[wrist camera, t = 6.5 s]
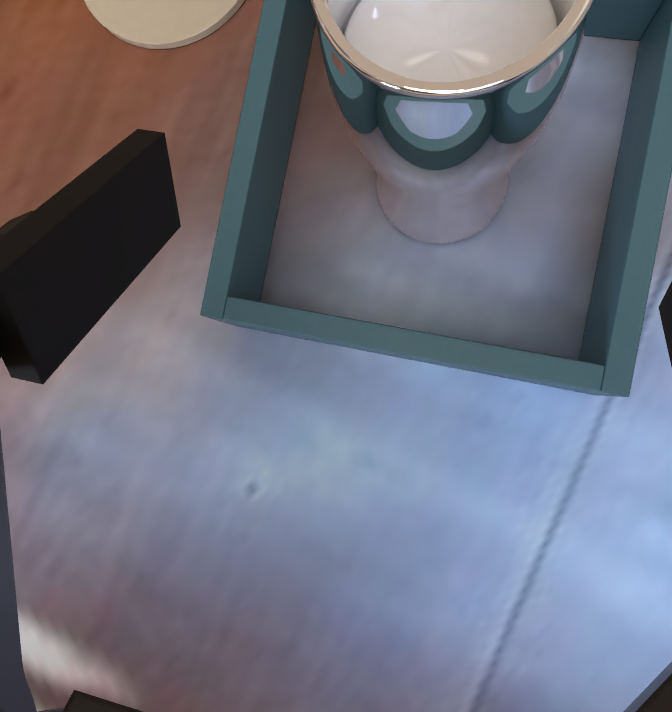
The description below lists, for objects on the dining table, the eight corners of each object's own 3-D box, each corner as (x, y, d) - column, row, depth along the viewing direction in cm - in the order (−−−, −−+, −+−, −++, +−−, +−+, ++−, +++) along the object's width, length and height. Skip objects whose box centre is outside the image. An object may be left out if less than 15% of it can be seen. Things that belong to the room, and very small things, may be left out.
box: (235, 325, 29) (199, 315, 25) (302, -12, 30) (280, -82, 25) (596, 395, 26) (629, 397, 22) (667, 22, 27) (714, -51, 22)
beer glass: (520, 105, 28) (623, -220, 13) (515, 255, 27) (615, 99, 12) (370, 109, 29) (304, -186, 14) (364, 253, 28) (290, 108, 14)
